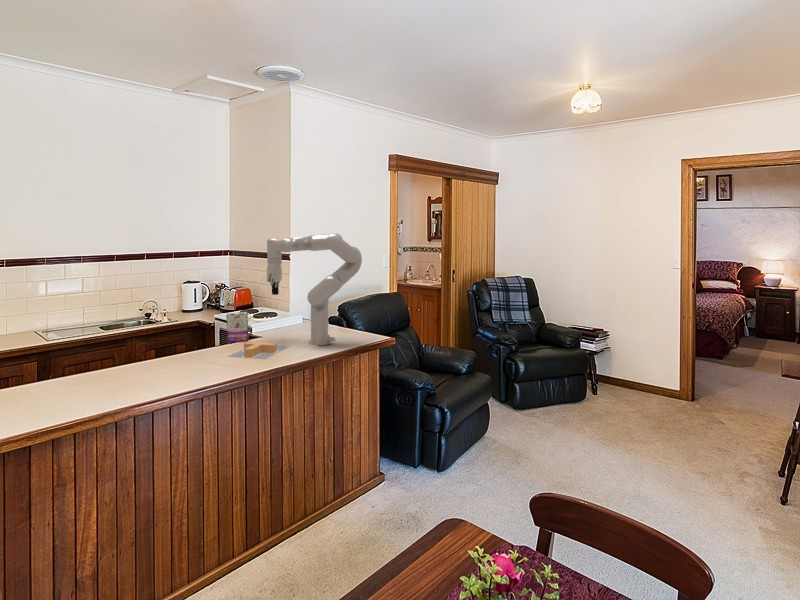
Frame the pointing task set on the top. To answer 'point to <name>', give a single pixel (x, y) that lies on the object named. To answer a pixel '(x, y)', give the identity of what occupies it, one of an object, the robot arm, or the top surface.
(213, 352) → the top surface
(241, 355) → the mat
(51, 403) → the top surface
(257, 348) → the t block
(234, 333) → the candy bar box
